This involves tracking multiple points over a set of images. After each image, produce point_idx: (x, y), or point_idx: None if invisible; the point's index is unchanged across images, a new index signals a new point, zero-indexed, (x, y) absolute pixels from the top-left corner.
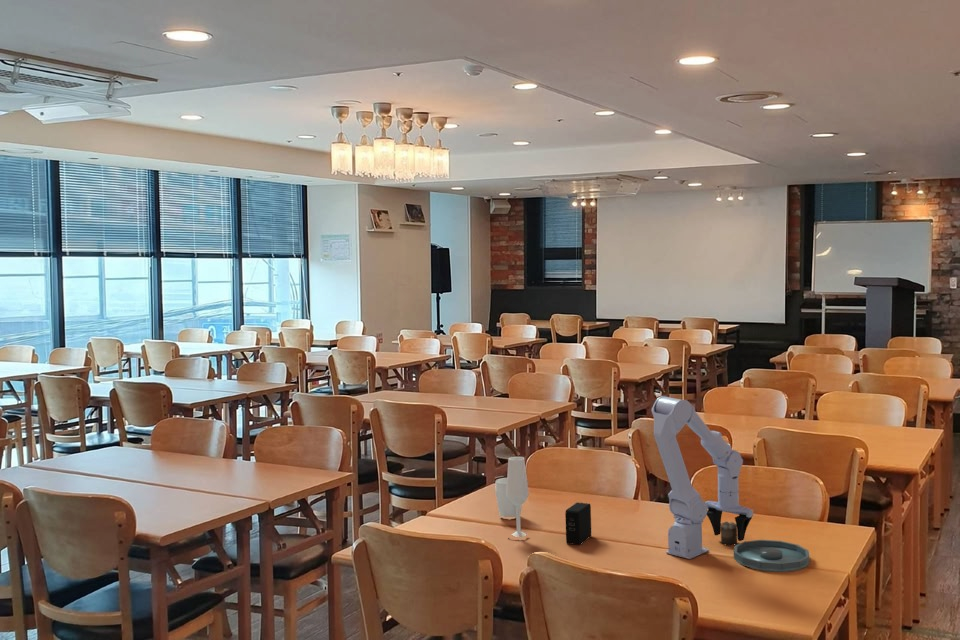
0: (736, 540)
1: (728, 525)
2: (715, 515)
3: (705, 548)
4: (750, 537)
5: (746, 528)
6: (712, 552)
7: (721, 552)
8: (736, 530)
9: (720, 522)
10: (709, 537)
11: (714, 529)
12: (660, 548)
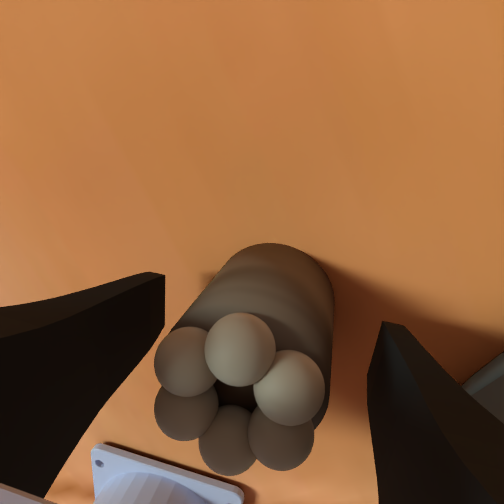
0: (333, 320)
1: (249, 453)
2: (22, 475)
3: (219, 491)
4: (378, 46)
5: (466, 396)
6: (268, 492)
7: (313, 480)
8: (330, 375)
9: (97, 310)
10: (104, 248)
11: (127, 365)
12: (51, 499)
